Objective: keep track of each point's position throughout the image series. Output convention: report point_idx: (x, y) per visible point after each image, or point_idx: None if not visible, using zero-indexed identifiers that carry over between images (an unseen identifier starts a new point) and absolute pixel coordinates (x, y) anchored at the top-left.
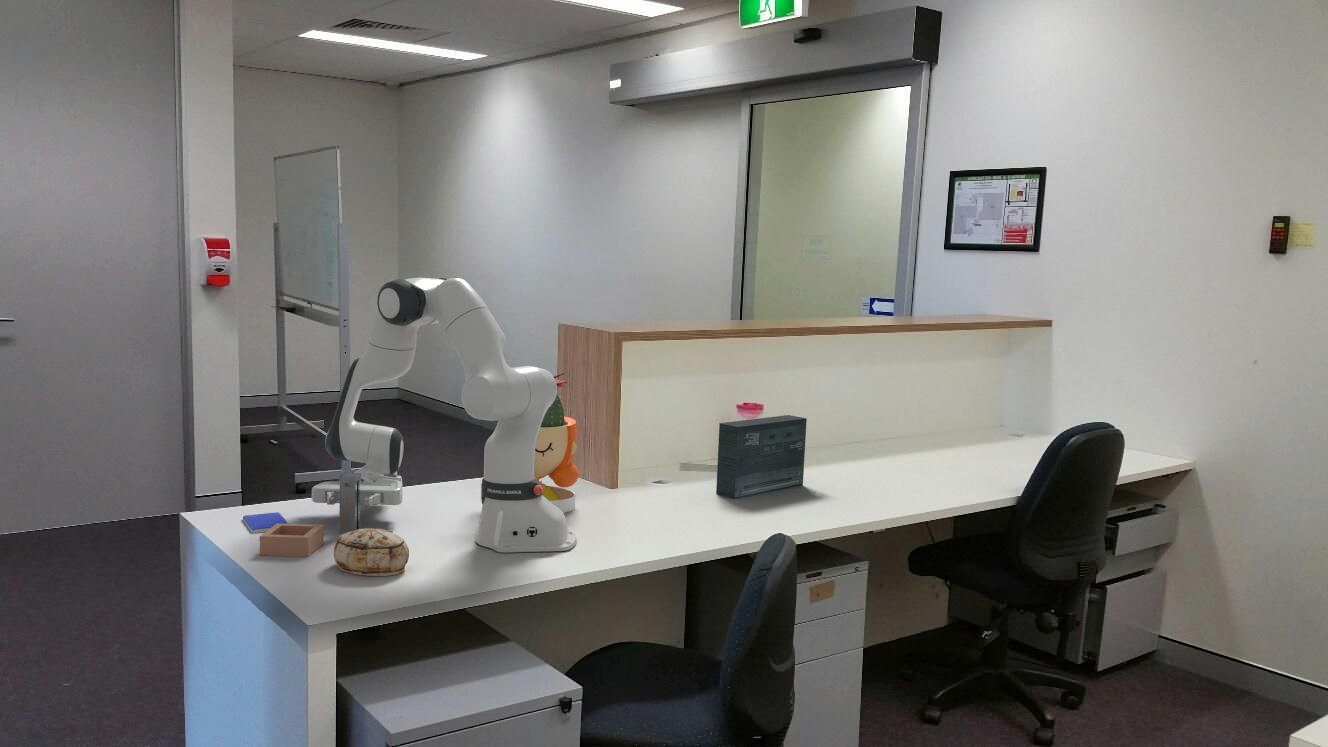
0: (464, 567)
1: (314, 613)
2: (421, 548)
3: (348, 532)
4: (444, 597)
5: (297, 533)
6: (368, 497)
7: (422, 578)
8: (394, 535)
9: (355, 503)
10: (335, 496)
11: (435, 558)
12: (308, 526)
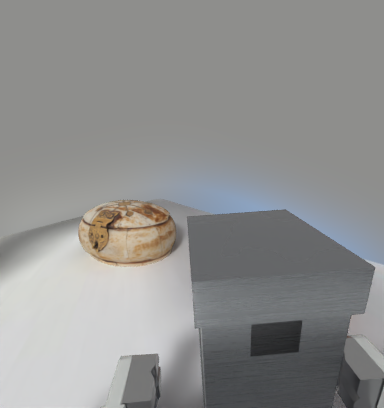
0: (5, 264)
1: (163, 202)
2: (22, 326)
3: (154, 207)
4: (71, 220)
5: None
6: (135, 372)
7: (76, 238)
8: (94, 207)
9: (199, 341)
10: (352, 373)
11: (26, 284)
12: None
